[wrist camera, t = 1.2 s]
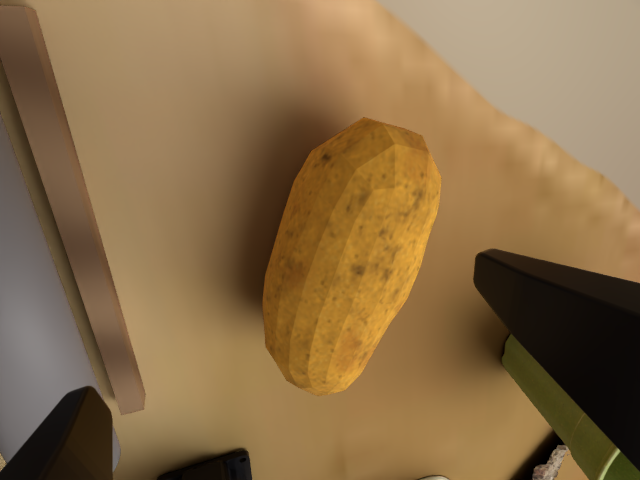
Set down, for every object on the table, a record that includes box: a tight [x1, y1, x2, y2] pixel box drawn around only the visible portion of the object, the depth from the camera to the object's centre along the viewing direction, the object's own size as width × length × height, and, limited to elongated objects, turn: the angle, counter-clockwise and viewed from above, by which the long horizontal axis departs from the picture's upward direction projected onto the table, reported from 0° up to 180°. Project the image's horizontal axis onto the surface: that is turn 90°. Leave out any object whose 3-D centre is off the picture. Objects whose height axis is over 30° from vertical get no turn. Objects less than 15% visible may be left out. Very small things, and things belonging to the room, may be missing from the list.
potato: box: [262, 118, 441, 396], centre depth 19 cm, size 7×14×7 cm, turn 159°
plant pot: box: [502, 334, 640, 480], centre depth 30 cm, size 12×12×11 cm
